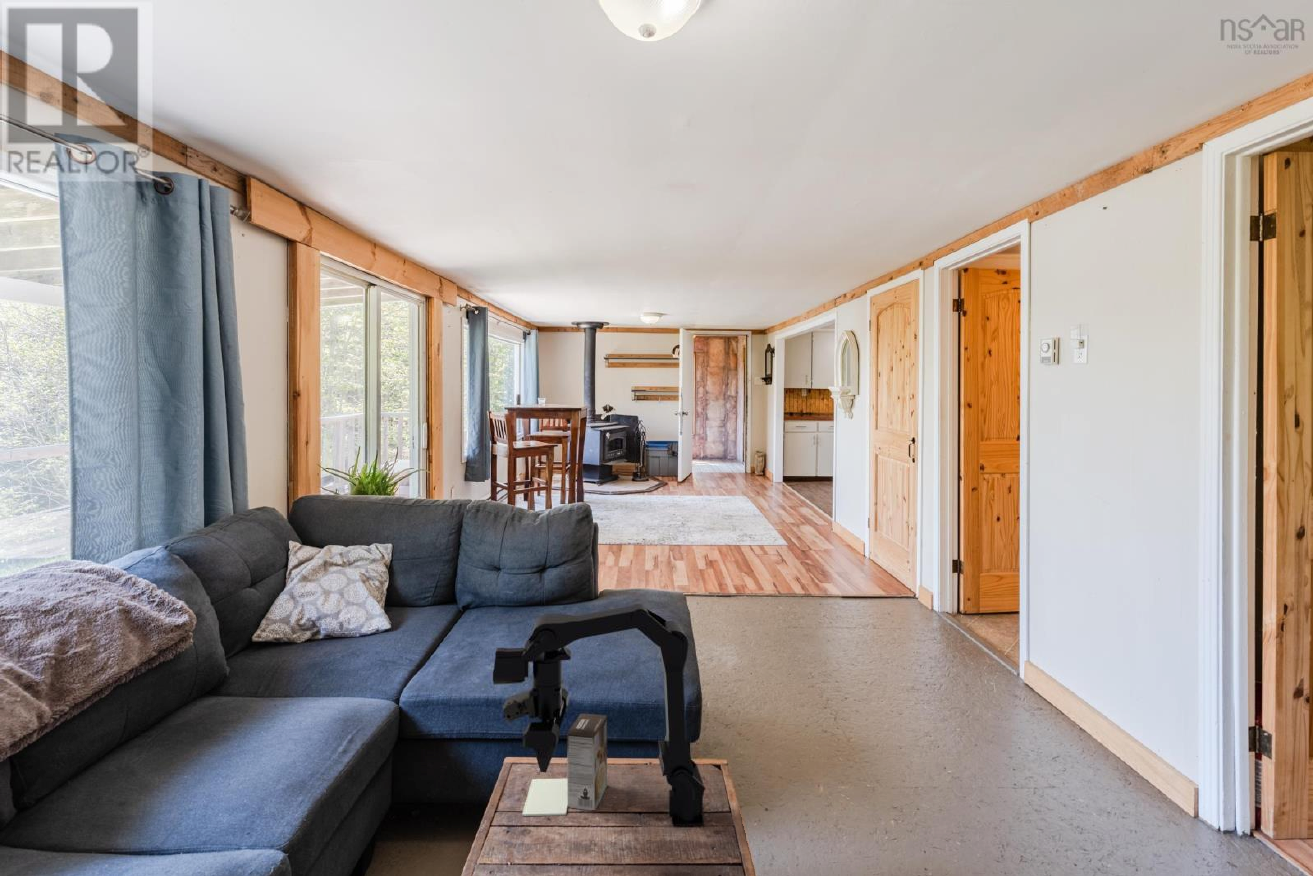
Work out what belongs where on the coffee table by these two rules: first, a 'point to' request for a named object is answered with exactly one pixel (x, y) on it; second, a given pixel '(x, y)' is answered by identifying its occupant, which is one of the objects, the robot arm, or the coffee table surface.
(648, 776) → the coffee table surface
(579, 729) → the coffee box
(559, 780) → the pad
